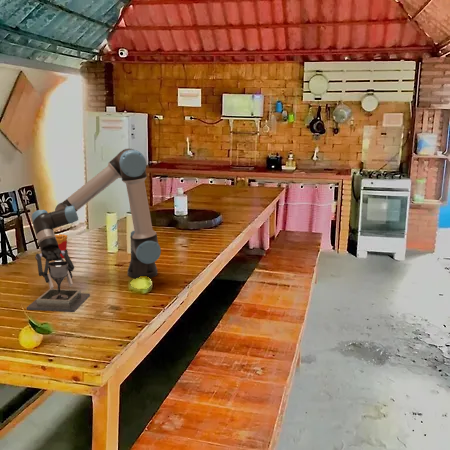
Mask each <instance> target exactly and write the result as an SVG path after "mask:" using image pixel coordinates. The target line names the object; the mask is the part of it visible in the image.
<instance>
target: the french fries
mask: <svg viewBox="0 0 450 450" xmlns="http://www.w3.org/2000/svg"><path fill="white" fill-rule="evenodd" d="M55 237H56V240H57V243H58V246H59V249H60V250H61V251H65V250H67V246H68V245H67V244H68V235H66V234H65V233H64V234H63V233H62V234H61V233H60V234H55ZM60 256H61V257H62V259H64V256H63V255H62V254H60Z"/></svg>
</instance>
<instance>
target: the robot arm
mask: <svg viewBox="0 0 450 450" xmlns="http://www.w3.org/2000/svg"><path fill="white" fill-rule="evenodd" d="M147 178H148V175H147V160H146V158H145V156H144V155H143V154H142V153H141V152H140V151H138V150H136V149H134V148H133V149H132V148H124V149H122V150H121V151H120V152H119V153H117V154H116V156H114V157H113V158H112V159H111V160H110V161H109V162H108V163H107V166H106V167H105V168H103V169H102V170H101V171H99V172H98V173H97V174H95V176H93V177H92V178H91V179H90V180H88V181H87V182H86V183H84V184H83V185H82V186H81V187H80V188H78V189H77V190H75V192H74V193H72V194H71V195H69V196H68V197H67V198H66V199H65V200H64V201H62V202H60V203H59V202H58V204H57V205H55V206H56V207H55V209H54V210H53V211H50V212H48V210H46V209H37V210H35V211H34V212H33V213H32V214H31V221H32V226H33V229H34V233H35V236H36V239H37V242H38V244H39V249H40V253H38V252H37V253H36V254H35V257H34V258H35V260H36V263H37V271H38V276H39V277H43V278H44V280H45V283H47V284H48V286H49V289H50V290H53V289H54V283H53V279H52V278H51V276H50V273H49V269H48V263H50V262H53V261H66V262H68V272H67V276H66V277H65V278H66V280H67V283H68V287H69V288H71V287H72V286H73V284H74V283H73V280H72V279H73V273H72V272H73V271H74V269H75V265H74V263H73V261H72V259H71V257H70V255H69V254H68V253H69V252H68V249H66V250H65V251H61V250H60V249H59V246H58V243H57V240H56V237H55V235H56V234H55V231H54V229H57V228H60V227H65V226H67V225H70V224H74V223H75V222H77V221H79V216H78V213H77V212H78V211H80V210H81V209H82V207H84V206H85V205H87V204H88V203H89V202H90V201H91V200H93V199H94V198H95V197H96V196H97V195H99V194H100V193H101V192H103V191H104V190H105V189H106V188H107V187H108V188H109V186H110V185H111V184H113V183H114V182H115V181H116V180H118V179H121V181H122V182H123V183H124V184H125V185H126V192H127V196H128V202H129V209H130V213H131V218H132V219H131V220H132V225H133V230H132V231H131V232H130V237H129V238H130V261H129V265H128V268H127V276H128V277H130V278H134V279H138V278H137V277H140V276H147V277H150V278H149V279H151V278H153V277H156V276H158V268H157V264H156V262H157V261H158V259H159V258H160V256H161V253H162V250H161V246H160V244H159V241H158V234H157V232H156V231H155V230H154V229H153V224H152V217H151V212H150V205H149V201H148V194H147V190H146V189H147V188H146V183H145V181H146V179H147ZM60 254H62V255H63V256H64V258H62V257H61V256H60ZM42 258H44V259H45V262H44V263H45V264H44V269H43V264H42V263H43V262H42Z"/></svg>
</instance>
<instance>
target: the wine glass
mask: <svg viewBox="0 0 450 450" xmlns="http://www.w3.org/2000/svg"><path fill="white" fill-rule="evenodd" d="M67 272H68V262H66V261H65V260H64V261H56V260H55V261H54V260H53V261H49V263H48V274H49V273H50V276H51V280H52V281H54V282H55V284H56V285H57V289H58V294H57V295H53V296H51V299H55V300H62V299H66V298H68V295H65V294H60V289H61V284H62V283H63V281H64V280H65V279H66V278H67V277H66V276H67Z"/></svg>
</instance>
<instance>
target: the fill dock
mask: <svg viewBox="0 0 450 450" xmlns="http://www.w3.org/2000/svg"><path fill="white" fill-rule="evenodd" d="M57 294H58V288H53V290H50V288H49V289H47V290H46V291H45V292H43V294H41V295H40V296H38V298H36V299H35V300H34V301H33V302H31V303H30V304H29V305H27V306H26V310H27V311H44V312H45V311H46V312H47V311H48V312H49V311H50V312H68V313H75V311H76V310H78V308H80V307H81V305H83V303H84V302H85V301H87V299H88V298H89V297H90V296H91V294H90V293H89V292H88V293H86V292H85V293H84V292H82V290H81V289H68V288H67V289H63V288H60V294H65V295H68V298H66V299H62V300H55V299H51V296H53V295H57Z"/></svg>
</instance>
